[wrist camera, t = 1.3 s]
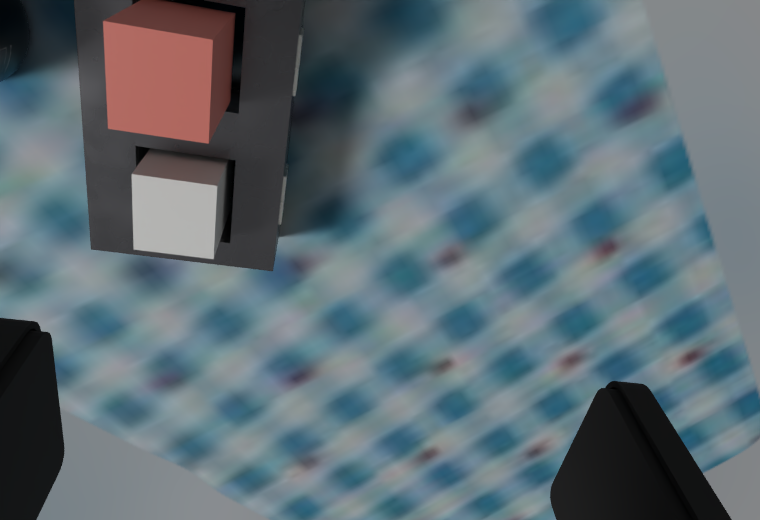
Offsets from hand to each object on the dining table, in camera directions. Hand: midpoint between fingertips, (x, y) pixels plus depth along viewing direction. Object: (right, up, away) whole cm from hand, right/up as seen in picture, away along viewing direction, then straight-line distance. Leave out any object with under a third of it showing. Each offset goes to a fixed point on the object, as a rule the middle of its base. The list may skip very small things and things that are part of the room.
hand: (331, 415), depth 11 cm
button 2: (-8, +13, +18) cm, 24 cm away
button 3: (-10, +8, +25) cm, 28 cm away
